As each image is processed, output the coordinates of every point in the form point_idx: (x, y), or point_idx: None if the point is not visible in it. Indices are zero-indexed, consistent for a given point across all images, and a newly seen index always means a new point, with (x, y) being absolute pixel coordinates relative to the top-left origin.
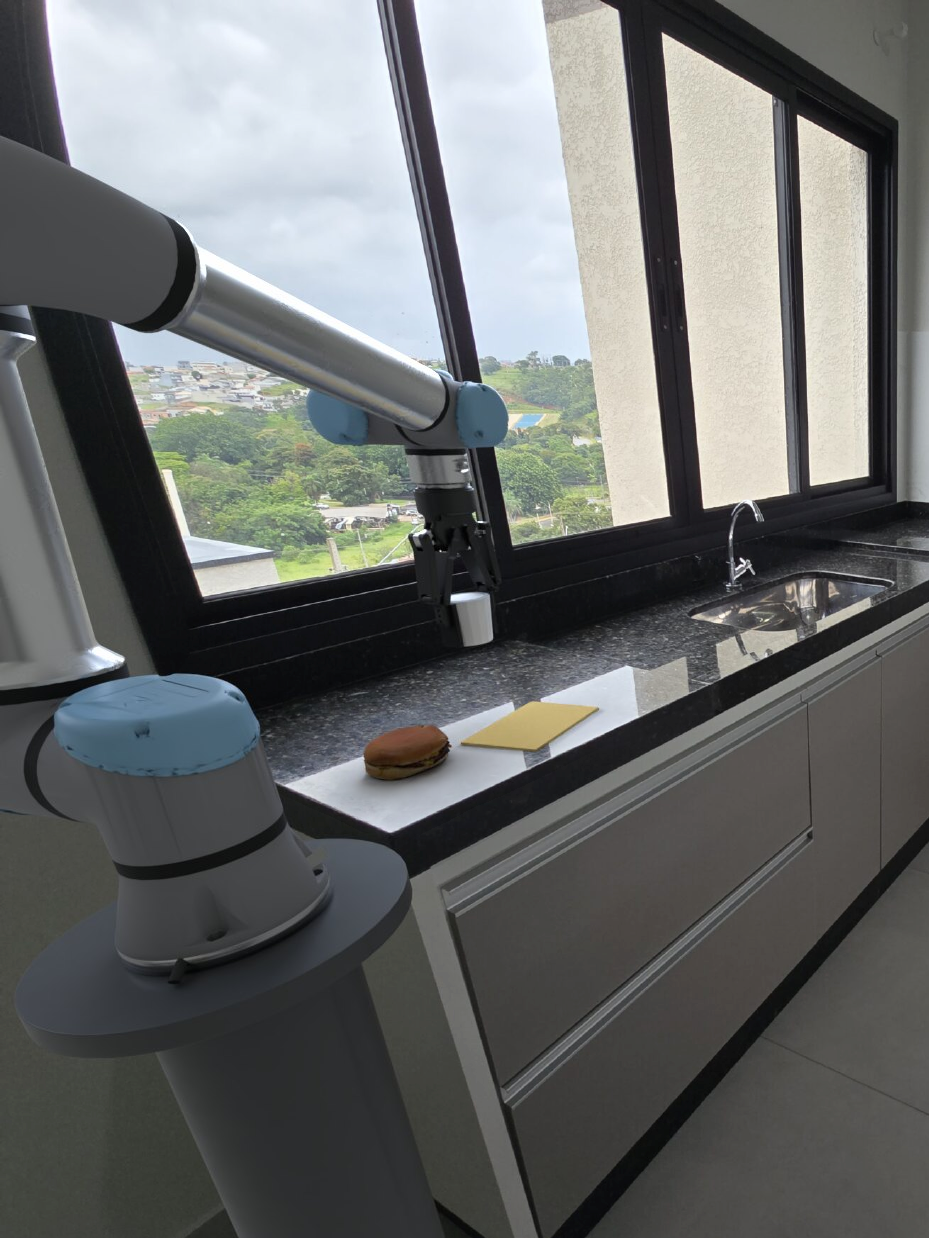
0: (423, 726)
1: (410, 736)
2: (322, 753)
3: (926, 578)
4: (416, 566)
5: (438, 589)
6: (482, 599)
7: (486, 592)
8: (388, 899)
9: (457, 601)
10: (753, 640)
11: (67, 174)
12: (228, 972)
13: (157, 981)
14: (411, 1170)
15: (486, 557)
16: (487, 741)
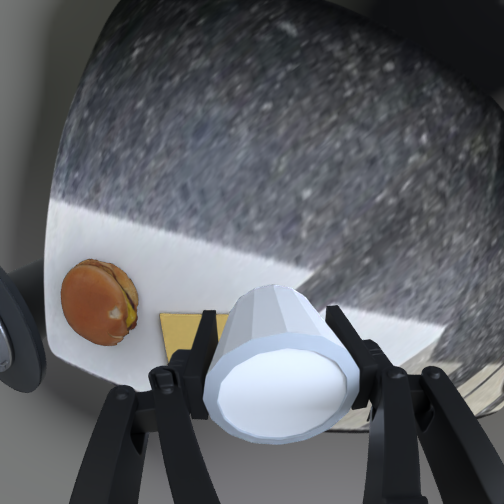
0: (117, 308)
1: (86, 325)
2: (103, 159)
3: None
4: (79, 484)
5: (142, 454)
6: (273, 443)
7: (365, 398)
8: (26, 388)
9: (220, 420)
10: (487, 385)
11: None
12: None
13: None
14: None
15: (440, 465)
16: (172, 342)
